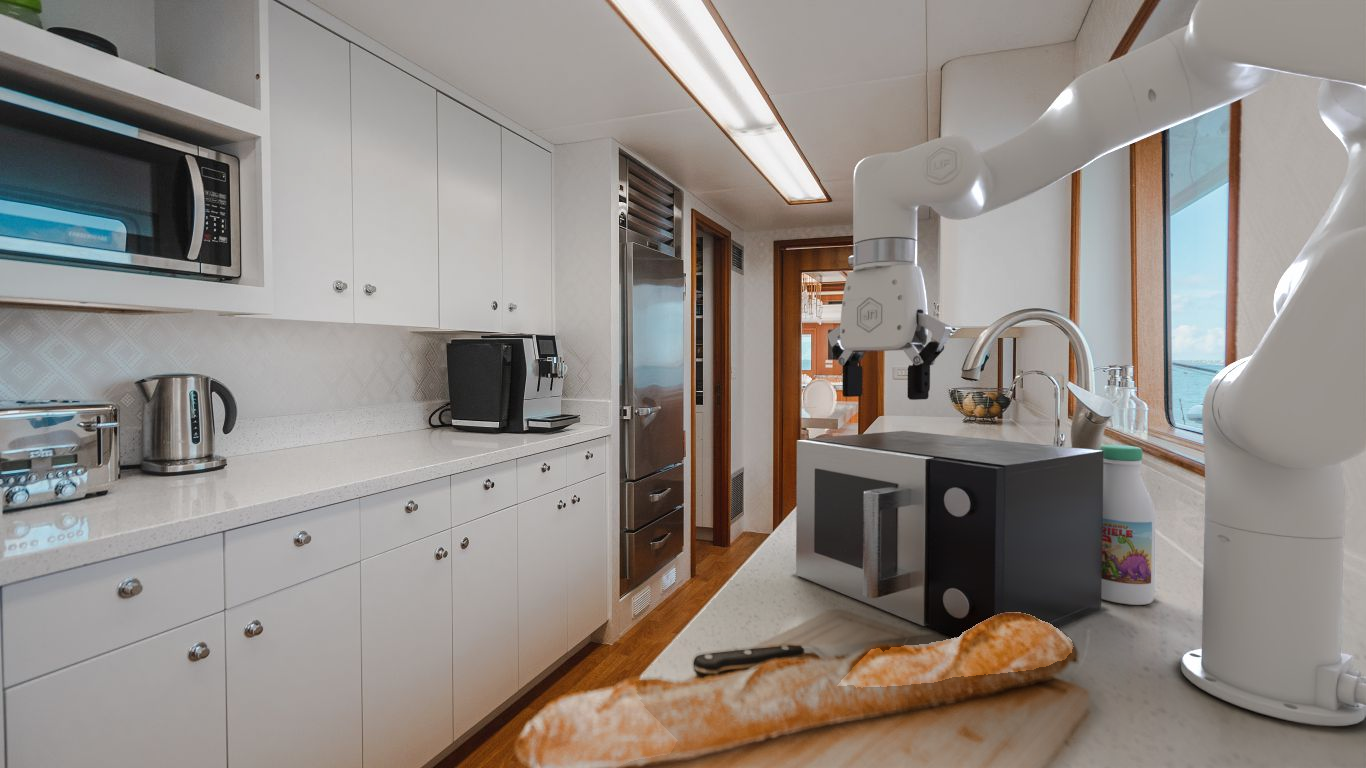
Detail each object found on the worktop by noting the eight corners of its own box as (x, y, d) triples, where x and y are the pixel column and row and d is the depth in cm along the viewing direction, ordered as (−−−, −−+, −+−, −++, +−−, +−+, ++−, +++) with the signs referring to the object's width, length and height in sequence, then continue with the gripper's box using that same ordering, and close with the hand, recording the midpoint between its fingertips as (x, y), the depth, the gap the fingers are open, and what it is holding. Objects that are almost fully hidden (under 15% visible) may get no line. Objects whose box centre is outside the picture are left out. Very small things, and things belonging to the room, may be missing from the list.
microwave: (989, 656, 66) (991, 467, 65) (793, 576, 91) (793, 439, 90) (1101, 608, 79) (1103, 450, 78) (902, 550, 104) (903, 430, 103)
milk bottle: (1091, 581, 89) (1094, 441, 88) (1159, 595, 83) (1162, 446, 83) (1077, 595, 83) (1079, 446, 83) (1148, 611, 78) (1151, 451, 77)
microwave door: (886, 639, 69) (888, 462, 69) (761, 583, 88) (761, 443, 87) (932, 623, 74) (934, 457, 73) (803, 573, 92) (804, 439, 92)
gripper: (811, 265, 82) (810, 396, 82) (929, 244, 68) (928, 401, 68) (849, 271, 86) (848, 394, 87) (967, 251, 72) (966, 399, 73)
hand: (883, 397), depth 77 cm, fingers open, 9 cm apart
